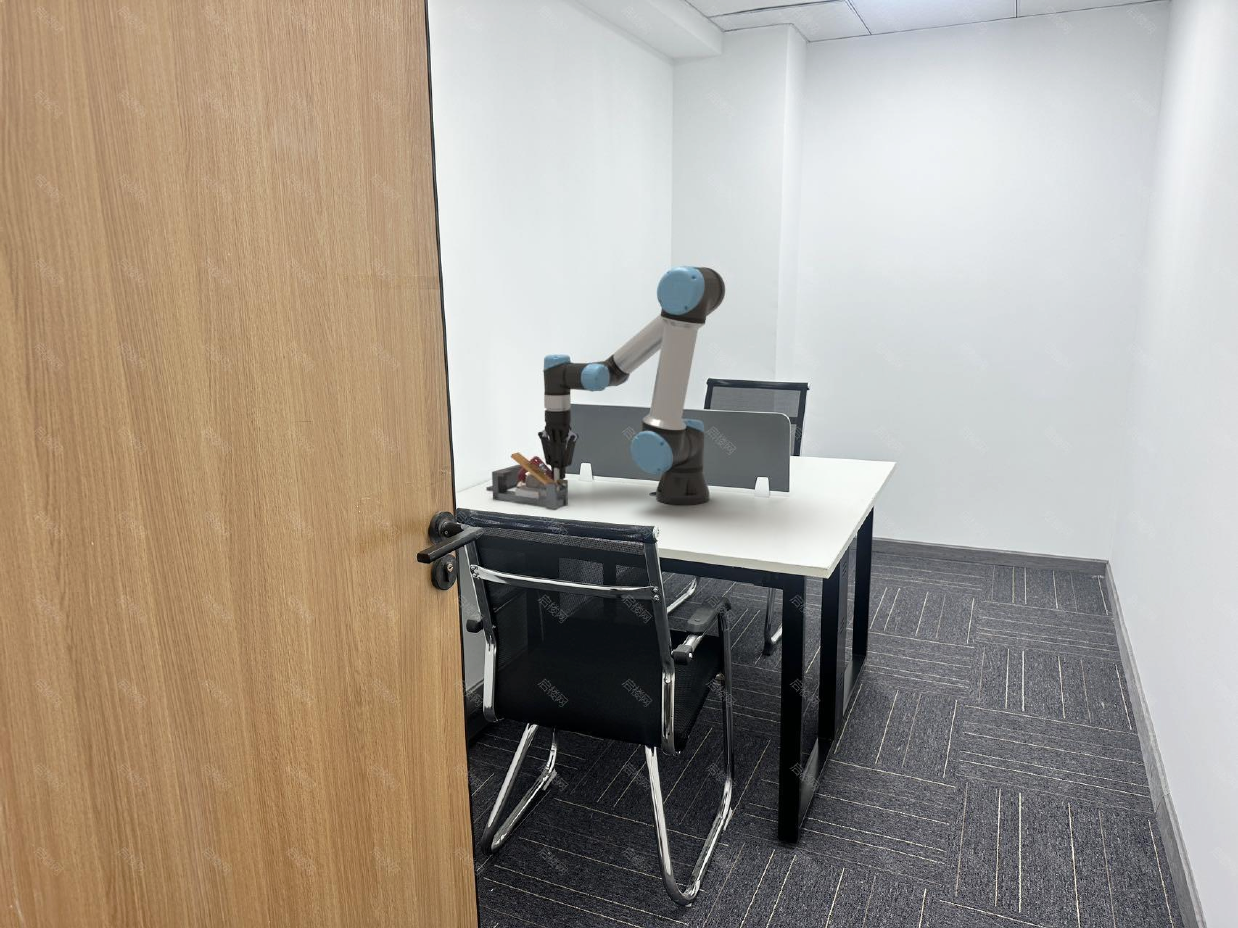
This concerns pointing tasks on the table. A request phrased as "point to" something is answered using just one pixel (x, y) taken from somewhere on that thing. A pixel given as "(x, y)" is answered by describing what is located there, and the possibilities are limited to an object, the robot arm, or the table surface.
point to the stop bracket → (510, 477)
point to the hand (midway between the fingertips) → (558, 489)
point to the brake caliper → (532, 480)
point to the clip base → (545, 501)
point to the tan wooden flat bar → (534, 470)
